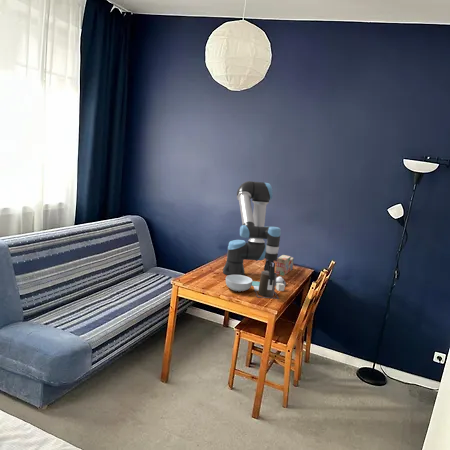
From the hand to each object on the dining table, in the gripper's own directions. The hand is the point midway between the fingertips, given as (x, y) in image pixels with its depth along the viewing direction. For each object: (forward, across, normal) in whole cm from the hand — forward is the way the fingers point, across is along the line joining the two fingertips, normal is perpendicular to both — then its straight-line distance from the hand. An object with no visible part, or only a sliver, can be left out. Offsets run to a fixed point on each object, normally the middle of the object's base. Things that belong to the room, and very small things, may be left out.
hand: (267, 286), depth 254 cm
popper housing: (+5, +21, -13) cm, 26 cm away
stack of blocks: (+5, +51, -24) cm, 56 cm away
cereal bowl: (+6, +5, +17) cm, 19 cm away
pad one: (+5, +9, +2) cm, 11 cm away
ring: (+5, 0, 0) cm, 5 cm away
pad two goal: (+5, +18, +3) cm, 19 cm away
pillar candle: (+6, 0, 0) cm, 6 cm away
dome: (+5, +21, -13) cm, 25 cm away
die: (+5, +10, -11) cm, 16 cm away
